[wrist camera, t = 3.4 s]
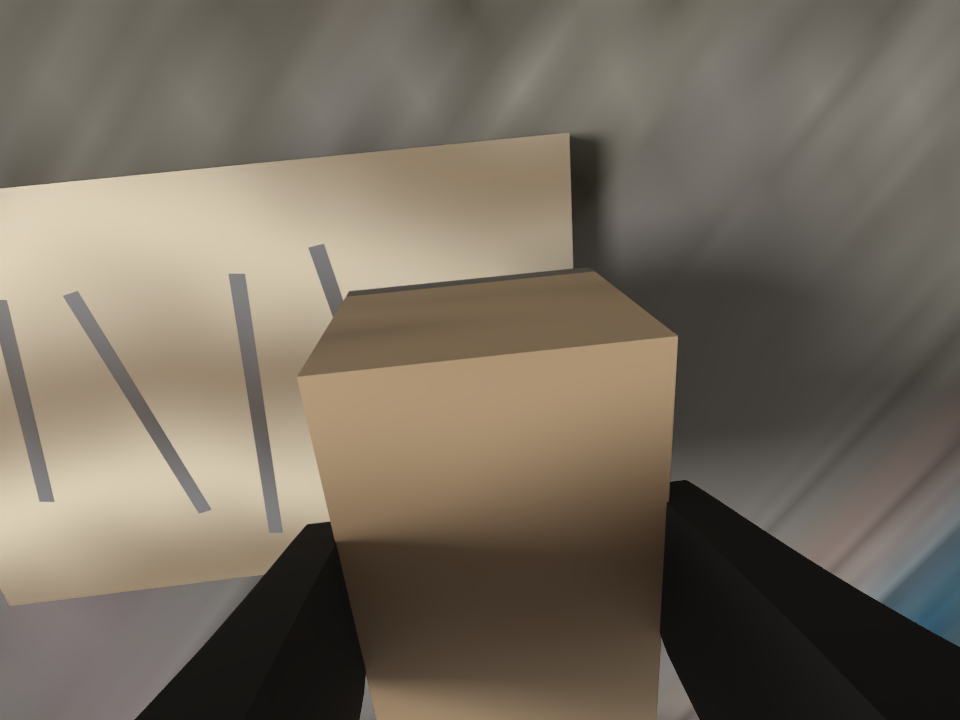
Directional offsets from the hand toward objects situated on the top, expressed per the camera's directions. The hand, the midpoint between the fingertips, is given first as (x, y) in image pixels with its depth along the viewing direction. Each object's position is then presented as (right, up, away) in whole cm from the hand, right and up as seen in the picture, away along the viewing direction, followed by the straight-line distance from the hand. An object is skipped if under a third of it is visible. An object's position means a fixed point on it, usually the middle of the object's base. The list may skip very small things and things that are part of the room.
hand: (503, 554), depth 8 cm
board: (-7, +2, +8) cm, 10 cm away
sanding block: (0, +1, +3) cm, 3 cm away
